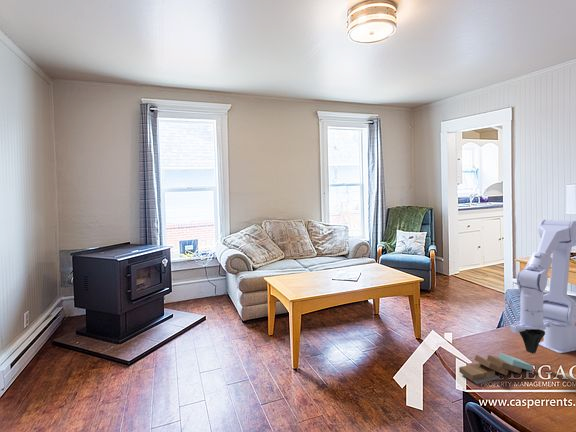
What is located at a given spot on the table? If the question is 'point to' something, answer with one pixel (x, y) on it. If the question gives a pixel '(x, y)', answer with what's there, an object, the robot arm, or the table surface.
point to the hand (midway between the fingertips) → (531, 352)
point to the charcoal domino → (484, 379)
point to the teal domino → (515, 361)
